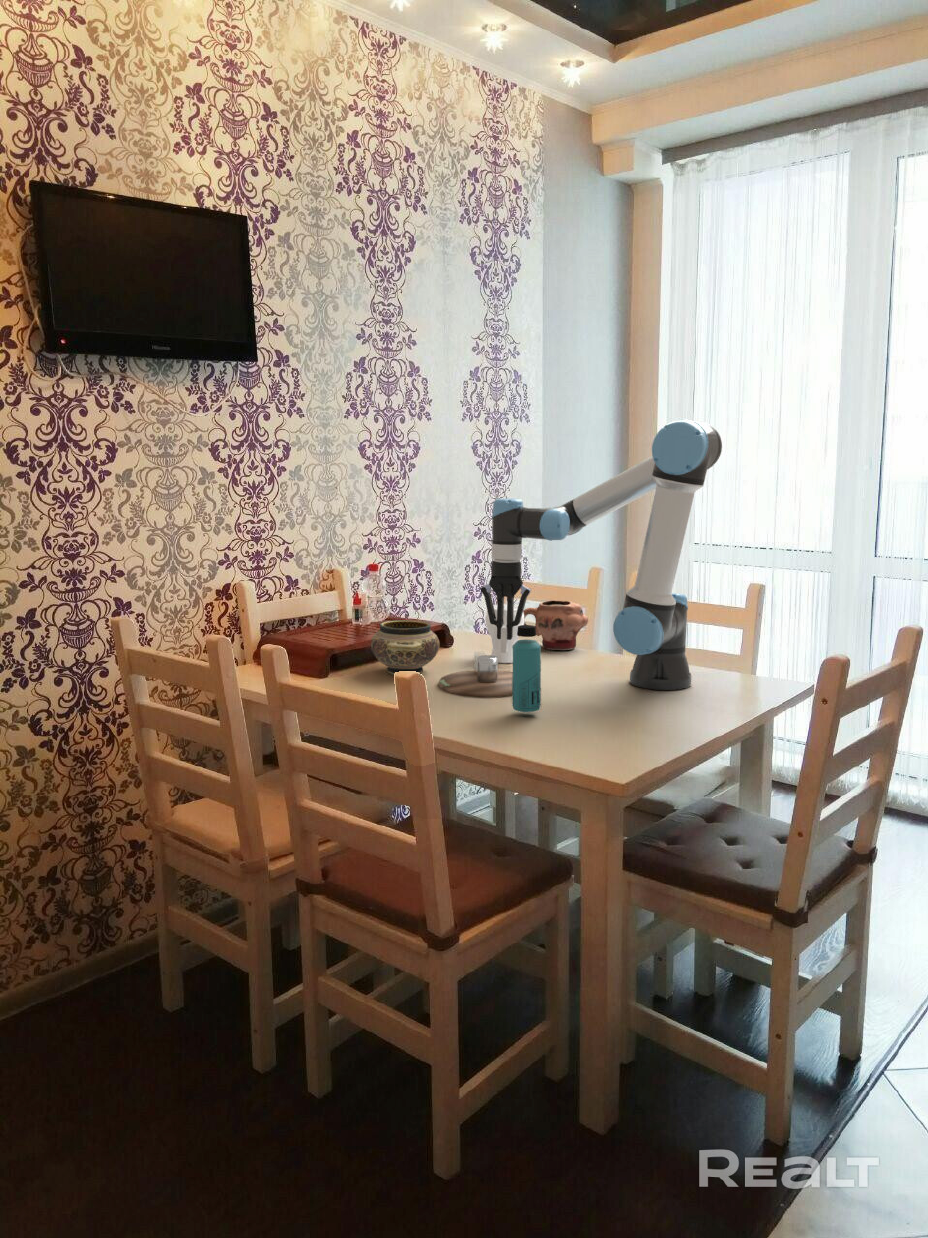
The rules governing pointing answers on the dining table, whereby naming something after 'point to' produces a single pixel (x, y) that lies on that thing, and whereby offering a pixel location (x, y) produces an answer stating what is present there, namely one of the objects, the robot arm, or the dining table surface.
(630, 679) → the robot arm
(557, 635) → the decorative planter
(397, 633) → the ceramic bowl
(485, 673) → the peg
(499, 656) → the cup
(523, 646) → the beverage bottle
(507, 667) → the dining table surface
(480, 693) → the round wooden board
